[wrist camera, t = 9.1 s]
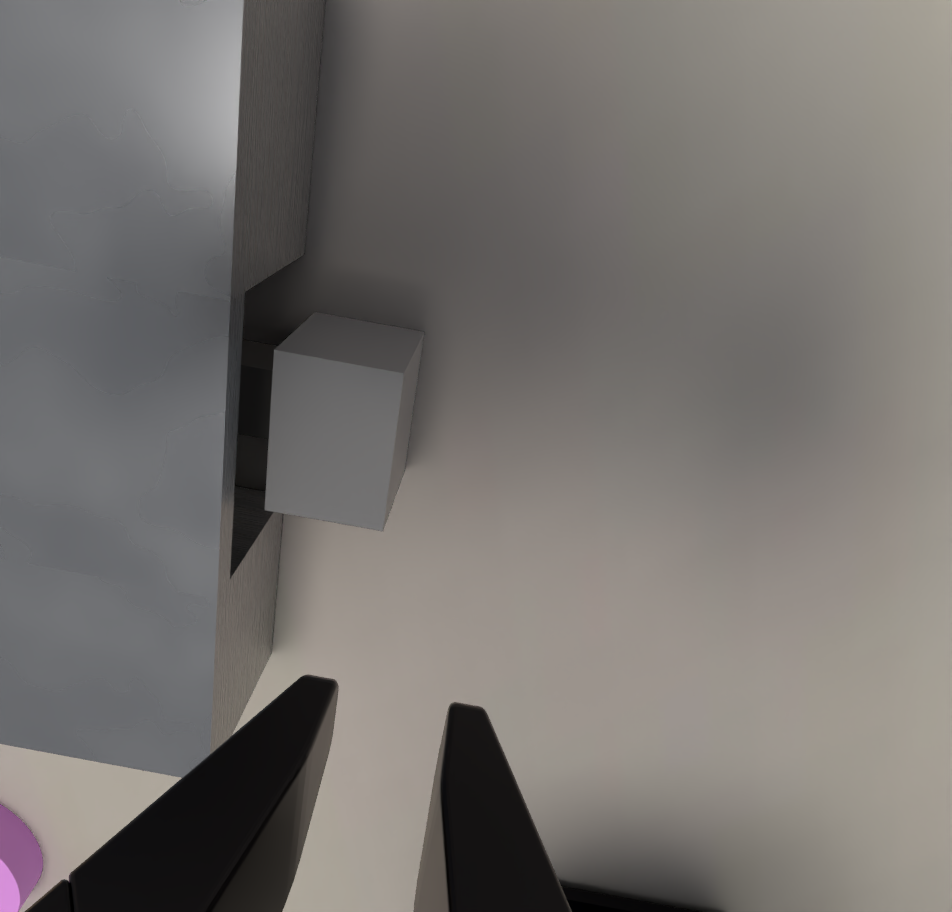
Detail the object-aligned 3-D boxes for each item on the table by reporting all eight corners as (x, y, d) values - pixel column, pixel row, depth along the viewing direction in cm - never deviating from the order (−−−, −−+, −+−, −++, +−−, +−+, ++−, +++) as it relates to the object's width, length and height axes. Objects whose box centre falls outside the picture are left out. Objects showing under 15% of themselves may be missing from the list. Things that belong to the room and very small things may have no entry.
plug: (425, 320, 17) (405, 360, 15) (403, 479, 19) (381, 541, 16) (-172, 212, 17) (-305, 232, 14) (-142, 380, 19) (-256, 426, 16)
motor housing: (326, -9, 15) (246, -54, 11) (271, 653, 21) (208, 782, 17) (67, -59, 15) (-114, -124, 11) (92, 620, 21) (-13, 741, 17)
